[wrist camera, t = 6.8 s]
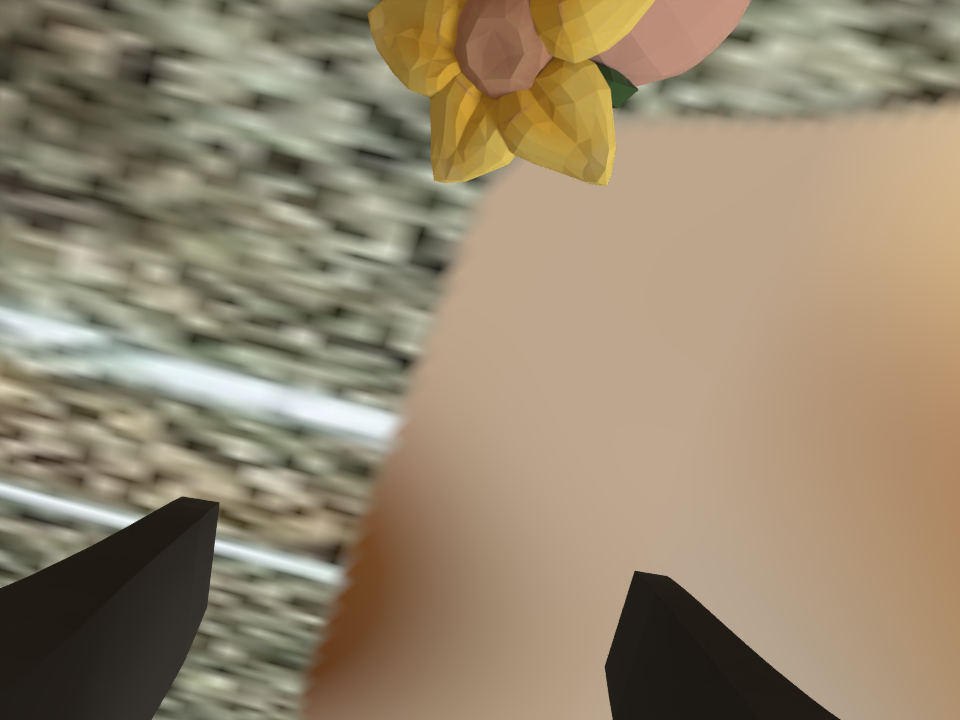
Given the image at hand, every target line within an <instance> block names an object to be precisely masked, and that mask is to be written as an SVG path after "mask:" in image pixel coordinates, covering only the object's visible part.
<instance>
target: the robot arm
mask: <svg viewBox="0 0 960 720" xmlns="http://www.w3.org/2000/svg"><path fill="white" fill-rule="evenodd" d="M218 511H219V502H213V501H206V500H200V499H194V498H188V497H180V498H178V499H176V500H174V501H172V502H170V503H169V504H167V505H165V506H163V507H161V508H160V509H158V510H156V511H154V512H153V513H151V514H149V515H147V516H145V517H144V518H142V519H140V520H138V521H137V522H135V523H133V524H131V525H129V526H128V527H126V528H124V529H122V530H120V531H118V532H117V533H115V534H113V535H111V536H109V537H107V538H105V539H104V540H102V541H100V542H98V543H96V544H94V545H92V546H91V547H89V548H87V549H85V550H82V551H80V552H78V553H76V554H74V555H72V556H70V557H68V558H66V559H64V560H62V561H60V562H58V563H56V564H53V565H51V566H49V567H47V568H45V569H43V570H41V571H39V572H37V573H35V574H33V575H30V576H28V577H26V578H24V579H21V580H19V581H17V582H14V583H12V584H10V585H7V586H5V587H2V588H0V720H152V718H153V716H154V714H155V713H156V711H157V709H158V708H159V706H160V704H161V702H162V700H163V699H164V697H165V695H166V693H167V692H168V690H169V688H170V686H171V685H172V683H173V681H174V679H175V678H176V676H177V674H178V672H179V670H180V669H181V667H182V665H183V663H184V661H185V659H186V657H187V654H188V652H189V650H190V647H191V645H192V643H193V640H194V638H195V635H196V633H197V631H198V628H199V626H200V623H201V621H202V618H203V616H204V613H205V611H206V608H207V602H208V594H209V586H210V578H211V569H212V561H213V553H214V544H215V536H216V528H217V520H218ZM605 672H606V679H607V686H608V693H609V700H610V706H611V712H612V717H613V720H840V719H839V718H837V717H836V716H834V715H833V714H831V713H830V712H829V711H827V710H826V709H825V708H823V707H822V706H821V705H819V704H818V703H817V702H816V701H814V700H813V699H812V698H810V697H809V696H808V695H806V694H805V693H804V692H803V691H801V690H800V689H799V688H798V687H797V686H795V685H794V684H793V683H792V682H790V681H789V680H788V679H787V678H785V677H784V676H783V675H782V674H780V673H779V672H778V671H776V670H775V669H774V668H773V667H772V666H771V665H770V664H768V663H767V662H766V661H765V660H764V659H763V658H761V657H760V656H759V655H758V654H757V653H756V652H754V651H753V650H752V649H751V648H750V647H749V646H748V645H746V644H745V643H744V642H743V641H742V640H741V639H740V638H738V637H737V636H736V635H735V634H734V633H733V632H732V631H731V630H730V629H728V628H727V627H726V626H725V625H724V624H723V623H722V622H721V621H720V620H719V619H717V618H716V617H715V616H714V615H713V614H712V613H711V612H710V611H709V610H708V609H706V608H705V607H704V606H703V605H702V604H701V603H700V602H699V601H697V600H696V599H695V598H694V597H693V596H692V595H691V594H689V593H688V592H687V591H686V590H685V589H684V588H682V587H681V586H680V585H679V584H677V583H676V582H675V581H673V580H672V579H671V578H669V577H668V576H663V575H657V574H651V573H645V572H639V571H635V572H634V575H633V578H632V581H631V584H630V588H629V591H628V594H627V597H626V601H625V604H624V607H623V610H622V613H621V617H620V620H619V623H618V626H617V629H616V632H615V636H614V639H613V642H612V645H611V648H610V652H609V655H608V658H607V661H606V664H605Z"/></svg>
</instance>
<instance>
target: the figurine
mask: <svg viewBox="0 0 960 720" xmlns="http://www.w3.org/2000/svg"><path fill="white" fill-rule="evenodd" d="M750 1H751V0H383V1H381V2H380V3H379V4H378V5H377V6H376V7H374V8H373V9H372V10H371V11H370V12H369V13H368V19H369V24H370V30H371V33H372V36H373V39H374V42H375V44H376V47H377V50H378V51H379V53H380V54H381V56H382V57H383V59H384V60H385V62H386V63H387V65H388V66H389V68H390V69H391V70H392V72H393V73H394V74H395V75H396V76H397V77H398V78H399V80H400V81H401V82H402V83H403V84H404V85H405V86H406V87H407V88H408V89H409V90H412V91H414V92H417V93H419V94H422V95H424V96H427V97H429V98H430V119H431V163H432V169H433V175H434V181H438V182H442V183H454V182H466V181H468V180H471V179H473V178H476V177H478V176H481V175H483V174H486V173H488V172H490V171H493V170H495V169H498V168H500V167H503V166H505V165H508V164H509V163H510V162H511V161H512V159H513V158H514V157H515V156H518V157H520V158H522V159H525V160H527V161H529V162H532V163H534V164H536V165H539V166H542V167H545V168H548V169H551V170H553V171H556V172H559V173H562V174H565V175H568V176H570V177H573V178H576V179H579V180H581V181H584V182H587V183H589V184H595V185H603V186H607V183H608V181H609V179H610V176H611V173H612V169H613V162H614V158H615V152H616V141H615V130H614V120H613V109H612V108H618V107H619V106H620V105H622V104H623V103H624V102H625V101H626V100H627V99H629V98H630V97H631V96H632V95H633V94H634V93H635V92H637V91H638V89H637V88H636V86H640V85H644V84H648V83H652V82H655V81H659V80H663V79H667V78H670V77H673V76H676V75H680V74H682V73H684V72H685V71H687V70H689V69H690V68H692V67H693V66H695V65H697V64H698V63H699V62H700V61H701V60H703V59H704V58H705V57H706V56H707V55H708V54H710V53H711V52H712V51H713V50H714V49H715V48H717V47H718V46H719V45H720V44H721V43H722V41H723V40H724V39H725V38H726V37H727V36H728V35H729V34H730V33H731V32H732V30H733V29H734V28H735V27H736V26H737V25H738V23H739V21H740V19H741V17H742V16H743V14H744V12H745V10H746V8H747V6H748V5H749V3H750Z"/></svg>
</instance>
